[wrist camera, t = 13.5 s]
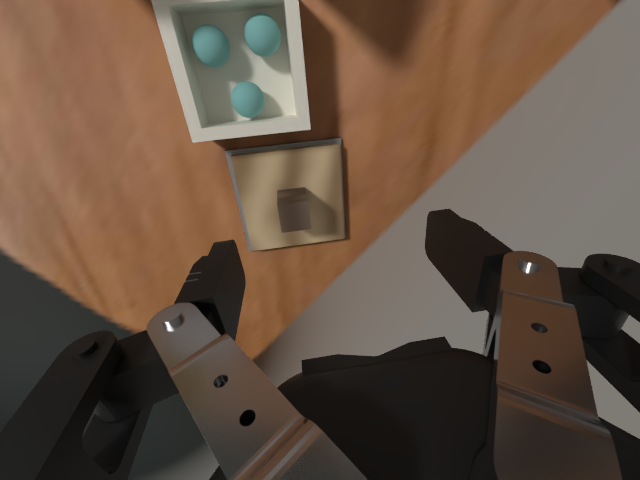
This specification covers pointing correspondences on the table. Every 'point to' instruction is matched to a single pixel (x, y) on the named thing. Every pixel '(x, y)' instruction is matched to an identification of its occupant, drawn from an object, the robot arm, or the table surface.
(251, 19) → the ball
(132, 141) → the table surface
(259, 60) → the box
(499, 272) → the robot arm
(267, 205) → the lid
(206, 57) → the ball
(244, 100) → the ball
